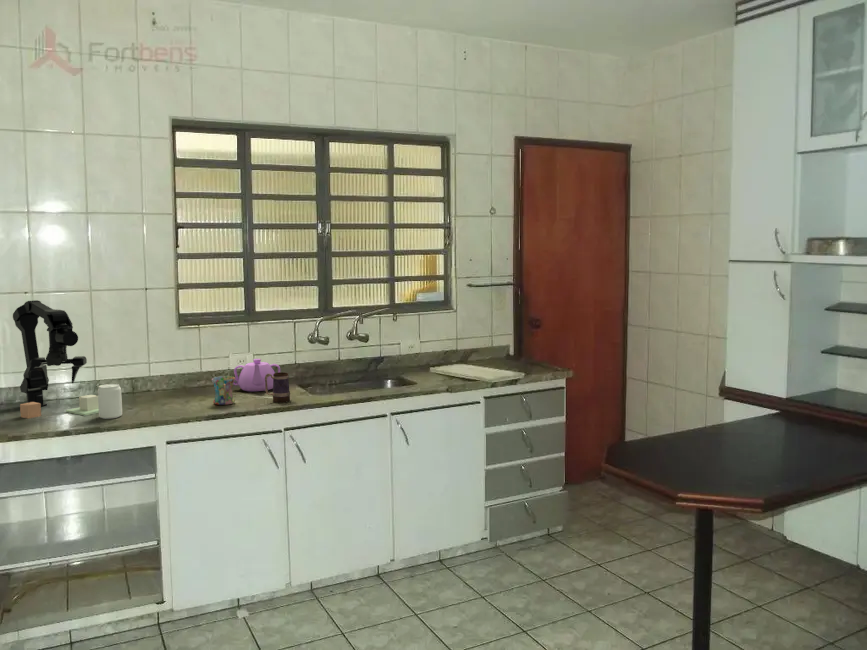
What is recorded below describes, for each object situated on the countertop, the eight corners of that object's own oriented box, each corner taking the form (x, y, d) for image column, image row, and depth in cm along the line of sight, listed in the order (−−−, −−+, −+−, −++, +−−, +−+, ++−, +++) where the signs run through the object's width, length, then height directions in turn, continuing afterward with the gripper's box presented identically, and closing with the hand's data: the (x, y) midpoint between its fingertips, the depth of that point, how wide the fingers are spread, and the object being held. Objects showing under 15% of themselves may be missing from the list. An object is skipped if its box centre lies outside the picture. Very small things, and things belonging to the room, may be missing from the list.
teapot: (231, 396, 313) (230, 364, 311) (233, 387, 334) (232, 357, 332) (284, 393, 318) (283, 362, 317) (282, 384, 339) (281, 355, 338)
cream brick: (87, 410, 283) (86, 398, 283) (79, 409, 286) (79, 396, 285) (99, 408, 288) (98, 395, 287) (91, 406, 290) (90, 394, 290)
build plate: (66, 412, 285) (66, 410, 285) (94, 406, 295) (94, 404, 295) (85, 415, 279) (84, 413, 279) (113, 409, 289) (112, 407, 289)
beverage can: (113, 419, 272) (112, 388, 271) (94, 418, 274) (92, 387, 273) (126, 414, 280) (125, 384, 279) (108, 413, 282) (106, 383, 280)
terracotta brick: (20, 417, 277) (19, 404, 277) (33, 414, 282) (32, 401, 281) (28, 418, 275) (27, 405, 274) (41, 416, 279) (40, 403, 278)
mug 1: (211, 402, 302) (210, 377, 300) (234, 400, 305) (234, 375, 304) (213, 408, 290) (212, 382, 289) (237, 406, 294) (236, 380, 292)
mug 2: (288, 398, 308) (287, 370, 307) (292, 402, 301) (291, 373, 300) (263, 401, 304) (262, 372, 302) (267, 404, 297) (266, 375, 296)
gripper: (24, 347, 270) (26, 388, 272) (79, 346, 274) (81, 387, 276) (33, 343, 280) (35, 383, 282) (85, 341, 285) (87, 381, 287)
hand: (59, 383), depth 282 cm, fingers open, 9 cm apart
